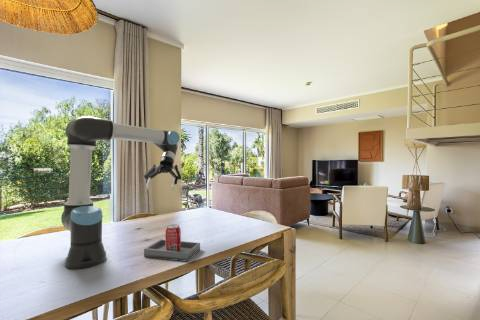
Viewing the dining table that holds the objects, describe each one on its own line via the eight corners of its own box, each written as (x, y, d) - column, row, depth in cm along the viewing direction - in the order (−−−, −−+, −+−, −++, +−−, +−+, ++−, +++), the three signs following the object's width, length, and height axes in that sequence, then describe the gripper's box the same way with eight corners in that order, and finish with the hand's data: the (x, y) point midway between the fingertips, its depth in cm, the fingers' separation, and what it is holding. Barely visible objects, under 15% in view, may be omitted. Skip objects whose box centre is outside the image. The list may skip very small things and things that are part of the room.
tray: (144, 256, 111) (144, 248, 111) (160, 246, 125) (160, 239, 125) (187, 261, 106) (187, 253, 106) (200, 249, 120) (200, 242, 120)
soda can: (174, 247, 121) (175, 223, 121) (183, 250, 116) (183, 226, 116) (162, 251, 115) (162, 226, 115) (170, 255, 111) (171, 229, 111)
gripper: (189, 164, 146) (184, 192, 131) (148, 164, 146) (138, 192, 131) (187, 155, 141) (182, 184, 126) (144, 155, 140) (134, 183, 125)
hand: (159, 188), depth 128 cm, fingers open, 13 cm apart
